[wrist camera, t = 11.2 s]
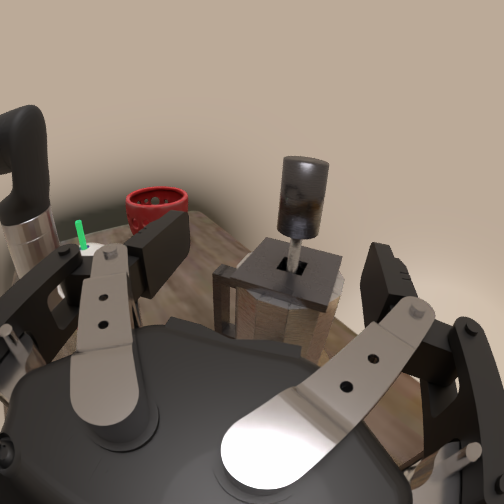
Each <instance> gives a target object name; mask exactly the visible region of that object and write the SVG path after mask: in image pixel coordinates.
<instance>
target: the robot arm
mask: <svg viewBox="0 0 504 504" xmlns="http://www.w3.org/2000/svg"><path fill="white" fill-rule="evenodd" d="M10 172H12V181H13V189H12V191H11V193H10V195H8V196H7V197H6V198H5V199H4V200H2V201H1V203H0V221H1V225H2V229H3V232H4V236H5V239H6V242H7V245H8V248H9V251H10V254H11V257H12V260H13V263H14V266H15V268H16V271H17V274H18V276H19V279H20V280H19V281H17V282H16V283H15V284H14V285H13V286H12V287H11V288H10V289H9V290H8V291H7V292H6V293H5V294H4V295H3V296H2V297H0V401H1V402H3V404H4V405H5V406H7V407H8V411H7V415H6V419H5V422H4V425H3V427H2V430H1V432H0V504H504V389H503V385H502V382H501V378H500V375H499V372H498V369H497V366H496V362H495V360H494V357H493V354H492V351H491V348H490V346H489V343H488V340H487V338H486V335H485V333H484V330H483V329H482V328H481V326H480V325H479V324H478V323H477V322H475V321H474V320H473V319H471V318H468V317H459V318H458V319H456V321H455V323H454V325H453V326H450V325H448V324H445V323H443V322H440V321H438V320H436V319H435V312H434V310H433V308H432V307H431V306H430V305H429V304H428V303H427V302H425V301H424V300H422V299H420V298H418V296H417V293H416V290H415V288H414V285H413V283H412V281H411V278H410V275H409V273H408V270H407V268H406V266H405V265H404V264H403V263H402V261H400V259H399V258H394V255H393V253H392V250H391V248H390V246H389V245H386V244H381V243H375V242H372V243H371V245H370V249H369V252H368V256H367V259H366V262H365V265H364V269H363V272H362V276H361V282H360V291H361V299H362V307H363V315H364V325H365V329H364V330H363V331H362V332H361V333H360V334H359V335H357V336H356V337H355V338H354V339H353V340H352V341H351V342H350V343H349V344H348V345H346V346H345V347H344V348H343V349H342V350H341V351H340V352H339V353H337V354H336V355H335V356H334V357H333V358H332V359H330V360H329V361H328V362H327V363H326V364H324V365H323V366H322V367H320V366H318V365H317V364H315V363H314V362H312V361H310V360H308V359H306V358H304V357H301V356H300V355H301V348H302V346H299V345H293V344H287V343H282V342H277V341H272V340H249V339H230V338H227V337H225V336H223V335H221V334H219V333H217V332H215V331H213V330H211V329H209V328H207V327H205V326H203V325H201V324H197V323H193V322H189V321H186V320H182V319H178V318H175V317H170V319H169V320H168V322H167V323H166V325H150V326H144V327H143V325H142V319H141V313H140V306H139V302H138V298H139V297H140V296H141V297H145V298H148V299H152V298H153V297H154V296H155V294H156V293H157V292H158V291H159V289H160V288H161V287H162V286H163V284H164V283H165V282H166V281H167V280H168V278H169V277H170V276H171V275H172V274H173V272H174V271H175V270H176V269H177V267H178V266H179V265H180V264H181V263H182V261H183V260H184V259H185V258H186V257H187V255H188V253H189V249H190V231H189V216H188V213H187V212H184V211H176V210H170V211H169V212H167V213H166V214H165V215H163V216H162V217H161V218H160V219H157V220H155V221H153V222H150V223H149V224H147V225H146V226H145V227H144V228H143V229H141V230H140V231H139V232H138V233H136V234H135V235H134V236H132V237H131V238H130V239H129V240H127V241H126V242H125V243H124V244H118V243H113V244H108V245H105V246H102V247H100V248H99V249H97V250H96V251H95V253H94V255H93V256H82V255H81V251H80V248H79V246H78V245H76V244H66V245H63V246H60V243H59V239H58V236H57V232H56V227H55V223H54V219H53V214H52V210H51V205H50V199H49V186H50V182H49V181H50V180H49V170H48V157H47V133H46V125H45V120H44V117H43V114H42V112H41V110H40V109H39V108H38V107H37V106H35V105H26V106H22V107H19V108H17V109H14V110H11V111H9V112H6V113H4V114H1V115H0V175H2V174H7V173H10ZM59 284H60V286H61V289H62V291H63V294H64V296H65V297H64V298H63V300H62V298H61V297H60V295H59V294H58V289H57V286H58V285H59ZM77 328H78V332H77V348H76V351H75V352H74V353H73V354H72V355H69V356H67V357H64V358H61V359H59V360H56V361H54V362H51V361H52V360H53V359H54V357H55V356H56V355H57V353H58V352H59V351H60V349H61V348H62V347H63V346H64V344H65V343H66V342H67V340H68V339H69V338H70V337H71V335H72V334H73V333H74V331H75V330H76V329H77ZM401 372H403V373H406V374H409V375H411V376H414V377H417V378H420V387H421V397H422V410H423V429H424V460H422V461H421V462H420V463H419V464H418V465H417V467H416V469H415V471H414V473H413V478H412V480H411V482H410V484H409V481H408V480H407V478H406V477H405V475H404V474H403V472H402V471H401V470H400V468H399V467H398V466H397V464H396V463H395V462H394V460H393V459H392V458H391V457H390V455H389V454H388V453H387V451H386V450H385V449H384V447H383V446H382V445H381V443H380V442H379V441H378V439H377V438H376V437H375V435H374V434H373V433H372V431H371V430H370V429H369V427H368V426H367V425H366V423H365V422H364V421H363V420H364V418H365V417H366V416H367V415H368V414H369V413H370V412H371V410H372V409H373V408H374V407H375V406H376V404H377V403H378V402H379V401H380V400H381V398H382V397H383V396H384V395H385V393H386V392H387V391H388V390H389V388H390V387H391V386H392V384H393V383H394V382H395V380H396V379H397V378H398V376H399V375H400V374H401ZM457 377H458V379H459V386H460V387H459V392H458V393H457V388H456V383H455V379H456V378H457Z"/></svg>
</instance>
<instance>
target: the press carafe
mask: <svg viewBox="0 0 504 504" xmlns="http://www.w3.org/2000/svg"><path fill="white" fill-rule="evenodd" d="M289 248H290V243H288V242H284V241H280V240H276V239H272V238H268V237H266V238H265V239H264V240H263V241H262V243H261V244H260V245H259V246H258V247H257V248H256V249H255V250H254V251H253V252H251V253H249V254H247V255H246V256H245V258H244V259H243V260H242V261H241V262H240V263H239V264H238V265H237V268H233V267H230V266H227V265H223V264H221V265H220V266H219V267H218V268H217V269H216V270H215V271H214V272H213V303H214V326H215V332H217V333H219V334H221V335H223V336H225V337H227V338H230V339H249V340H272V341H277V342H282V343H287V344H293V345H299V346H302V348H301V355H300V356H301V357H304V358H306V359H308V360H310V361H312V362H314V363H315V364H317V365H318V366H320V367H322V366H323V365H324V364H326V363H327V362H328V361H329V358H328V356H327V354H326V352H325V351H324V349H323V348H324V345H325V342H326V339H327V336H328V333H329V330H330V328H331V325H332V321H333V318H334V315H335V312H336V309H337V306H338V303H339V299H340V296H341V292H342V288H343V284H344V278H343V276H342V274H341V273H340V271H339V268H340V264H341V260H342V256H339V255H335V254H331V253H327V252H323V251H319V250H315V249H311V248H308V247H304V246H301V250H300V256H299V262H298V268H297V274H293V273H289V272H286V269H287V262H288V255H289ZM230 287H232V288H235V289H236V308H235V325H233V324H231V323H229V319H230Z"/></svg>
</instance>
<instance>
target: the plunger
mask: <svg viewBox="0 0 504 504" xmlns="http://www.w3.org/2000/svg"><path fill="white" fill-rule="evenodd" d="M328 170H329V163H327V162H325V161H322V160H319V159H315V158H309V157H301V156H287V157H284V160H283V171H282V182H281V192H280V202H279V212H278V222H277V230H278V231H279V232H280V233H281V234H283V235H285V236H287V237H290V238H291V241H290V248H289V255H288V262H287V269H286V272H289V273H293V274H297V268H298V262H299V256H300V250H301V244H302V239H311V238H315V237H316V236H317V235H318V232H319V227H320V222H321V216H322V209H323V204H324V197H325V191H326V184H327V177H328Z"/></svg>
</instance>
